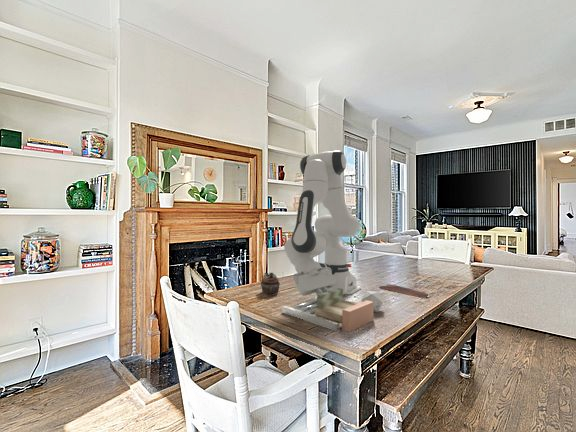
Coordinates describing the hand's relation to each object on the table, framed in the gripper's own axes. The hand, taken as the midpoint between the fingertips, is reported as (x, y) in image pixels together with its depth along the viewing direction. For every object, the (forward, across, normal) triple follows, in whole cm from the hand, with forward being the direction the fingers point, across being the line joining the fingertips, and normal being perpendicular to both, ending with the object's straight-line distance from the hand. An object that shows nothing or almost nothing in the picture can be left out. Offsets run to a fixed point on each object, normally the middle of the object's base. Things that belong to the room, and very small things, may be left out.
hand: (327, 299), depth 125 cm
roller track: (+4, 0, +5) cm, 6 cm away
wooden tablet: (+9, +57, 0) cm, 58 cm away
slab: (+8, 0, -2) cm, 8 cm away
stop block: (+15, 0, -6) cm, 16 cm away
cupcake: (-24, +6, +33) cm, 41 cm away
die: (+11, +18, -2) cm, 22 cm away
